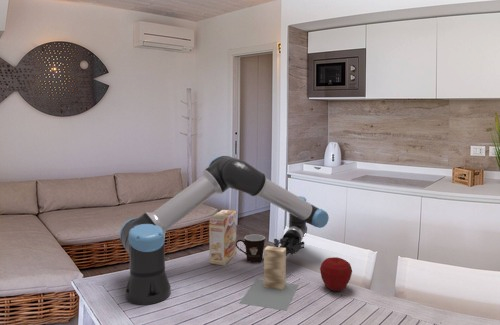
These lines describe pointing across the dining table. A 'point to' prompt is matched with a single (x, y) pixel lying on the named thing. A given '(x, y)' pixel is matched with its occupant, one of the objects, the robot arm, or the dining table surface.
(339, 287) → the apple
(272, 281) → the letter block
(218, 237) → the coffeecake box
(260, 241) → the coffee mug
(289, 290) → the mat
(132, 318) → the dining table surface
